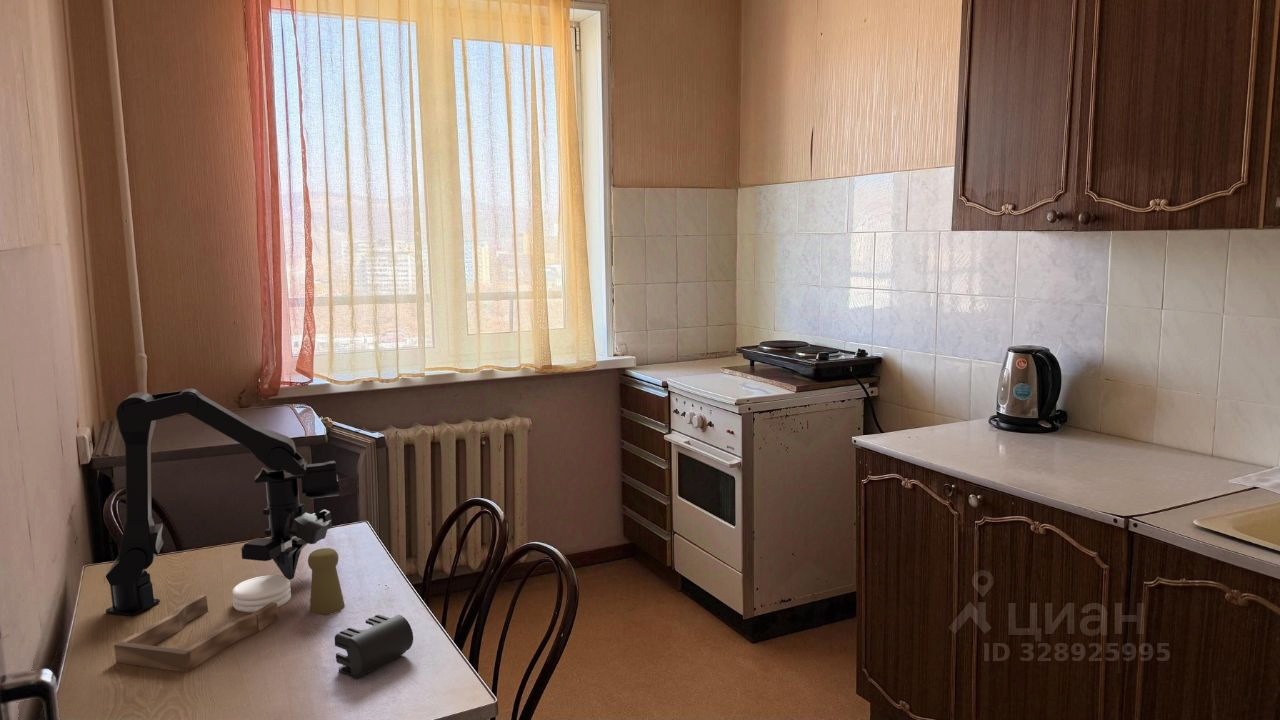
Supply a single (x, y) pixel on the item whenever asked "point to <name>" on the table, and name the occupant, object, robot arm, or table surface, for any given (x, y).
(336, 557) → the cork
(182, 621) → the wooden u-shaped frame
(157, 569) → the table surface
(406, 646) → the end cap
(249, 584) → the coaster
